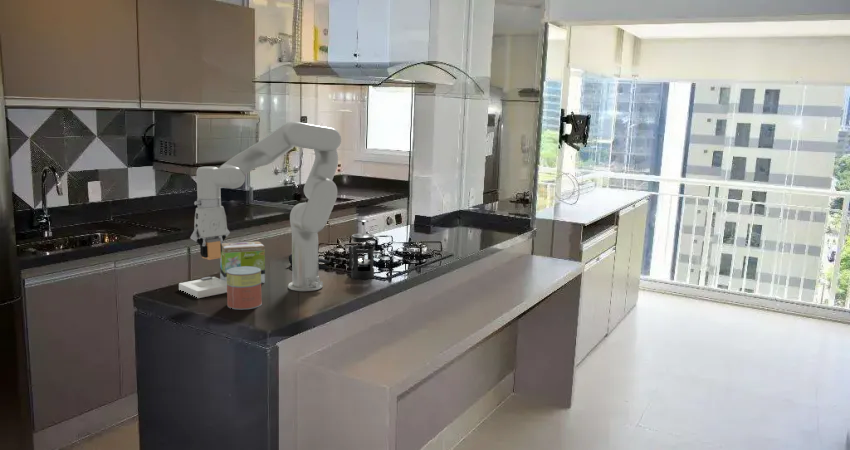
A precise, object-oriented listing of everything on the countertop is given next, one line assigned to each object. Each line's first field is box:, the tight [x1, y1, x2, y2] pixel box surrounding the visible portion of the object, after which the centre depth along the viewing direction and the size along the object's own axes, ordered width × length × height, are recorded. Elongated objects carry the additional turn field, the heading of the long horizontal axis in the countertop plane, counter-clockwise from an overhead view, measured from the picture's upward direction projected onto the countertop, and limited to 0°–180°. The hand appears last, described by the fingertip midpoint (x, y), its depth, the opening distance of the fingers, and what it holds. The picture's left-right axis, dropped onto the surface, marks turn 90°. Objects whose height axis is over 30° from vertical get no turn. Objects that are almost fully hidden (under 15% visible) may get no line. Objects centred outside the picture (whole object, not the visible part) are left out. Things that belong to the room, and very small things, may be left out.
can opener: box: [288, 253, 330, 270], centre depth 272 cm, size 18×7×6 cm, turn 77°
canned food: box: [226, 266, 263, 311], centre depth 218 cm, size 11×11×12 cm
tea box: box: [219, 241, 266, 284], centre depth 246 cm, size 15×10×15 cm, turn 117°
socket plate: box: [178, 276, 227, 299], centre depth 234 cm, size 14×14×3 cm
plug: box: [201, 237, 221, 261], centre depth 222 cm, size 5×5×7 cm
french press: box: [348, 219, 375, 281], centre depth 257 cm, size 12×9×23 cm
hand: (211, 255), depth 223 cm, fingers closed on plug, 4 cm apart
